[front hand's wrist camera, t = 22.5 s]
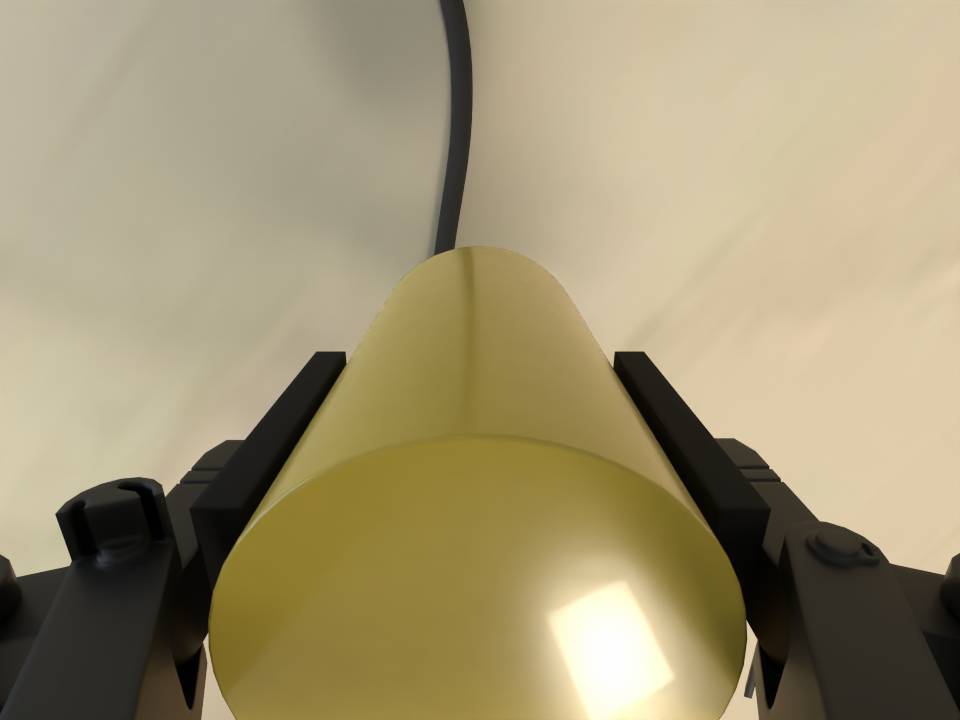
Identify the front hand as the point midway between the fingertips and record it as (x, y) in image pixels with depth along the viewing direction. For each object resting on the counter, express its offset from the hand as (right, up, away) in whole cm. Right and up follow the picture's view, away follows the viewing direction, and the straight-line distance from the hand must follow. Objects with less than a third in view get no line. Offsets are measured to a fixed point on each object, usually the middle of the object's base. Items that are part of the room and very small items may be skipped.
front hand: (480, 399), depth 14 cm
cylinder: (0, +1, +4) cm, 4 cm away
